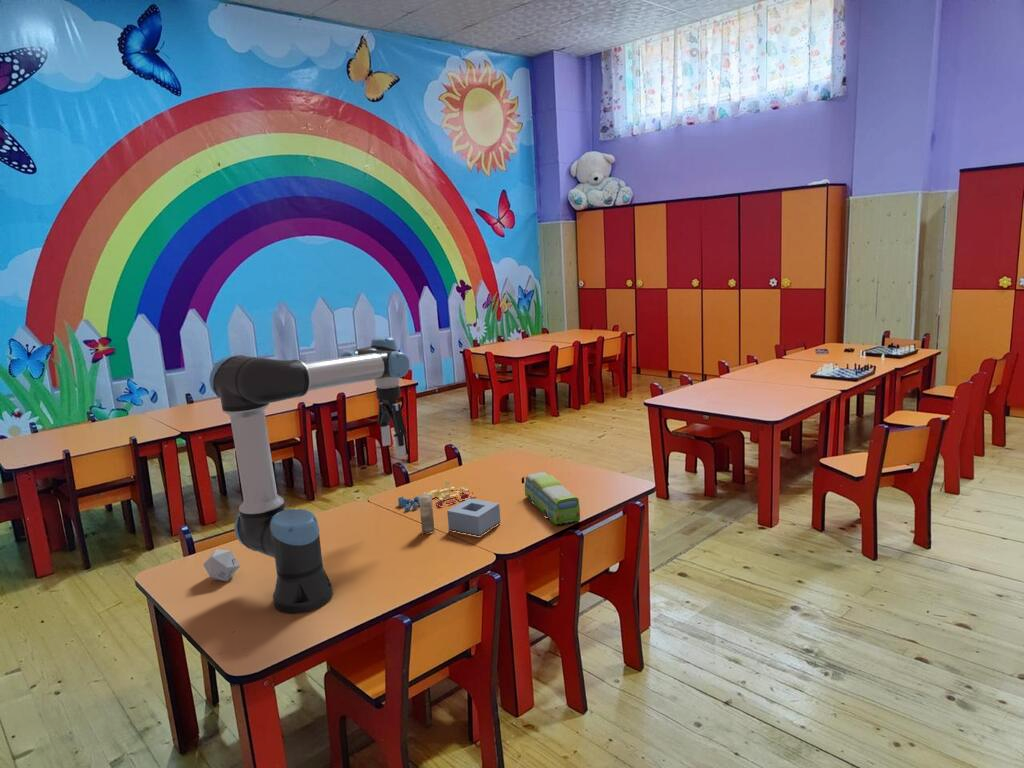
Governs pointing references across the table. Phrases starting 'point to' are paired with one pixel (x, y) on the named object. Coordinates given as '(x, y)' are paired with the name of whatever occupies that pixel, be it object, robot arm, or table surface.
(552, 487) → the toy bus
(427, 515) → the peg
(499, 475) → the table surface
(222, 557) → the die
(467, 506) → the socket block
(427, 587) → the table surface
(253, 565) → the table surface
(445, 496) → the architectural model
